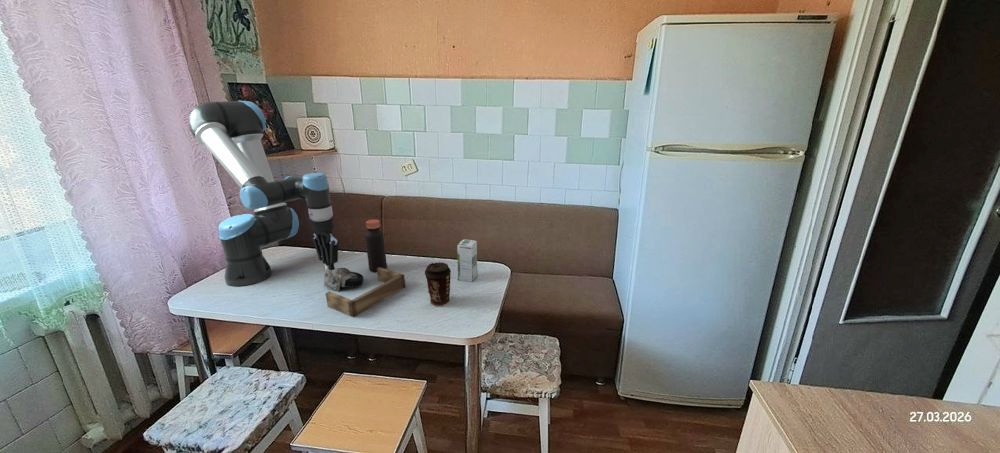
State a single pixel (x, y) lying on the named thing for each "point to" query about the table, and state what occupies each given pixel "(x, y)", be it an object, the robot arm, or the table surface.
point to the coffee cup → (438, 283)
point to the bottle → (375, 246)
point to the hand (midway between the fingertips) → (331, 279)
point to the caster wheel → (342, 278)
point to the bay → (368, 294)
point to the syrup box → (467, 260)
